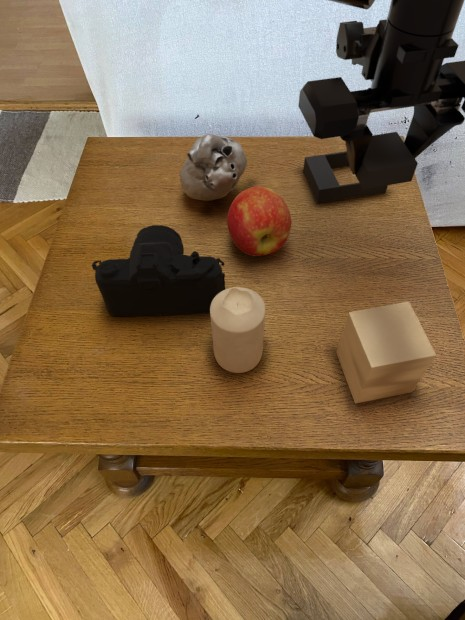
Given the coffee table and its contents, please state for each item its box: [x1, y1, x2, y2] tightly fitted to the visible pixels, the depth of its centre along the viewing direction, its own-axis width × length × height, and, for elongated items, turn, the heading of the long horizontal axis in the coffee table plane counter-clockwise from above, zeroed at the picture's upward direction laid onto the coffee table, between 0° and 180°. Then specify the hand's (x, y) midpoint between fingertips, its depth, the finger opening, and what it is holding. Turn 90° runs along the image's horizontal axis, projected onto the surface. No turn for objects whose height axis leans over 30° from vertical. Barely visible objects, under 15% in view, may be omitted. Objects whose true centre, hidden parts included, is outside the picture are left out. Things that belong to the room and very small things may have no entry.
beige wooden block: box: [335, 300, 437, 404], centre depth 50 cm, size 6×6×8 cm
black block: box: [346, 131, 419, 189], centre depth 54 cm, size 6×6×2 cm
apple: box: [226, 186, 293, 257], centre depth 61 cm, size 8×8×8 cm
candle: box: [209, 286, 266, 374], centre depth 51 cm, size 6×6×10 cm
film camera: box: [91, 224, 226, 317], centre depth 57 cm, size 15×10×9 cm, turn 91°
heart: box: [179, 133, 248, 202], centre depth 66 cm, size 10×10×12 cm
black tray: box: [302, 150, 389, 204], centre depth 70 cm, size 10×7×2 cm
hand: (378, 167), depth 54 cm, fingers closed on black block, 5 cm apart
